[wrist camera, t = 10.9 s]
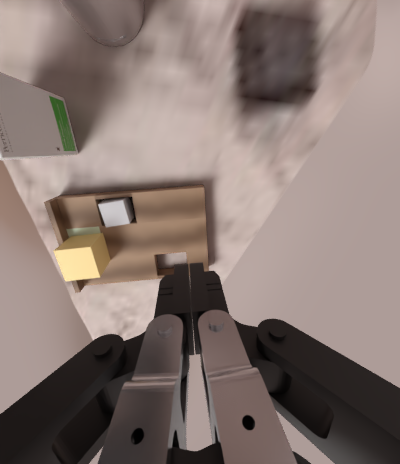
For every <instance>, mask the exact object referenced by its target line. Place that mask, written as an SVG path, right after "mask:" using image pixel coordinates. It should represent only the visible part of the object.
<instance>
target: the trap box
mask: <svg viewBox="0 0 400 464" xmlns="http://www.w3.org/2000/svg"><path fill="white" fill-rule="evenodd" d="M121 197H132V199H133V204H134V210H135V215H136V219H132V221H131V223H130V224H124V225H118V226H112V227H106V226H105V223H104V220H103V217H102V214H101V212H100V209H99V206H98V204H99V203H101V202H102V200H101V199H108V198H121ZM44 204H45V207H46V209H47V212H48V215H49V218H50V221H51V224H52V227H53V230H54V232H55V235H56V238H57V241H58V244H59V246H60V245H61V244H62V243H64V242H65V241H66V240H67V239H68V238H70V237H71V236H78V235H88V234H97V233H103V235H104V238H105V242H106V245H107V249H108V253H109V256H110V260H111V261H110V262H109V264H108V265H107V267H106V269H105V270H104V272H103V274H102V275H101V277H99V278H91V279H82V280H73V281H72V284H73V287H74V290H75V292H76V293H78V292H81V290H82V289H83V287H84V286H86V285H97V284H107V283H118V282H128V281H139V280H150V279H160V278H163V277H164V276H165V275H171V274H174V268H166V269H159V268H158V261H157V254H168V253H179V252H186V254H187V264H188V266H189V263H199V262H203V266H204V272H205V271H209V267H208V249H207V230H206V212H205V194H204V186H203V185H193V186H180V187H167V188H154V189H141V190H128V191H115V192H101V193H88V194H75V195H62V196H58V197H55V198H53V199H51V200H48V201H46V202H44ZM189 276H190V266H189Z"/></svg>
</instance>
